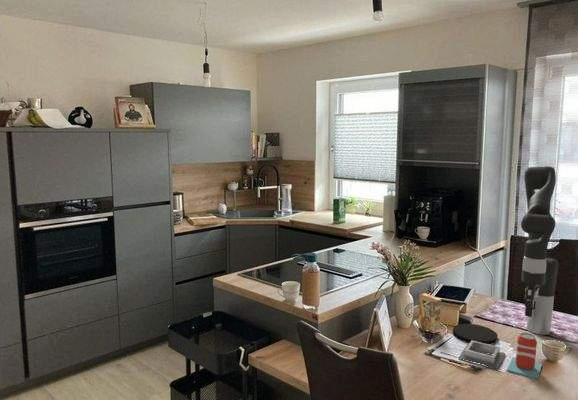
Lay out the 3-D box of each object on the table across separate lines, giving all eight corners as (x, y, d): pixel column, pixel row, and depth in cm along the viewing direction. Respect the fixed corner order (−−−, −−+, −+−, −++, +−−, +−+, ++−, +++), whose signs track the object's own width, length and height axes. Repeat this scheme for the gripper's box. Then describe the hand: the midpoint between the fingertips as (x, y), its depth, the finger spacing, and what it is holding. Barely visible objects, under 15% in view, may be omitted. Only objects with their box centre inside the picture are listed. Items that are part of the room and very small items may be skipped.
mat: (512, 358, 183) (512, 356, 182) (541, 365, 177) (541, 364, 177) (507, 371, 173) (507, 369, 173) (537, 379, 167) (537, 377, 167)
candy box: (439, 332, 205) (442, 298, 203) (433, 334, 203) (435, 300, 201) (423, 325, 212) (425, 292, 210) (417, 327, 210) (419, 294, 208)
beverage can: (532, 364, 177) (535, 333, 175) (535, 372, 171) (538, 340, 169) (514, 361, 179) (517, 331, 177) (516, 369, 173) (519, 338, 171)
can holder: (467, 345, 193) (468, 337, 192) (504, 355, 185) (505, 346, 185) (458, 359, 181) (459, 350, 181) (497, 369, 174) (498, 360, 173)
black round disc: (453, 342, 197) (453, 337, 196) (451, 325, 214) (452, 321, 213) (499, 348, 192) (500, 343, 191) (494, 331, 209) (494, 326, 208)
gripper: (525, 263, 177) (521, 304, 180) (519, 272, 166) (515, 316, 168) (547, 266, 173) (543, 308, 176) (543, 276, 161) (539, 321, 164)
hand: (529, 312), depth 172 cm, fingers open, 8 cm apart
